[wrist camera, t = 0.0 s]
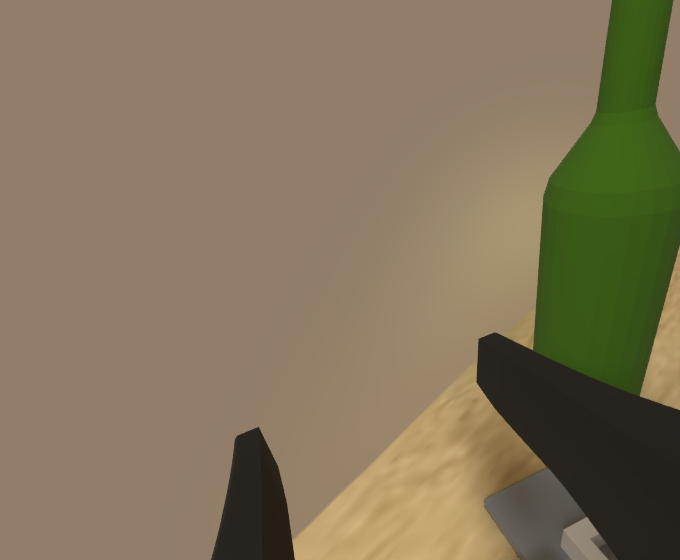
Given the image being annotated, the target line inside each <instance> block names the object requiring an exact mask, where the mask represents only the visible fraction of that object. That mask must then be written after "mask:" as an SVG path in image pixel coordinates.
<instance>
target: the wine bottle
mask: <svg viewBox="0 0 680 560" xmlns="http://www.w3.org/2000/svg"><path fill="white" fill-rule="evenodd" d="M672 5H673V0H612V5H611V12H610V19H609V26H608V33H607V40H606V47H605V55H604V61H603V68H602V76H601V83H600V89H599V96H598V103H597V110H596V113H595V115H594V117H593V119H592V122H591V123H590V125H589V126H588V127H587V129H586V130H585V131H584V133H583V134H582V135H581V137H580V138H579V139H578V141H577V142H576V143H575V145H574V146H573V147H572V148H571V150H570V151H569V152H568V154H567V155H566V157H565V158H564V159H563V160H562V162H561V163H560V165H559V166H558V167H557V168H556V170H555V171H554V172H553V174H552V175H551V176H550V178H549V181H548V184H547V187H546V190H545V193H544V197H543V211H542V212H543V213H542V226H541V242H540V256H539V270H538V285H537V300H536V315H535V330H534V345H533V351H535V352H537V353H539V354H541V355H543V356H545V357H547V358H549V359H552V360H554V361H556V362H558V363H560V364H562V365H565V366H567V367H569V368H571V369H573V370H576V371H578V372H580V373H582V374H585V375H587V376H589V377H592V378H594V379H596V380H599V381H601V382H604V383H606V384H609V385H611V386H613V387H616V388H618V389H621V390H624V391H626V392H629V393H631V394H634V395H637V396H640V392H641V388H642V384H643V381H644V377H645V373H646V369H647V366H648V362H649V358H650V354H651V351H652V347H653V343H654V339H655V336H656V332H657V328H658V324H659V321H660V317H661V313H662V309H663V306H664V302H665V298H666V294H667V291H668V287H669V283H670V279H671V276H672V272H673V268H674V264H675V261H676V257H677V253H678V249H679V246H680V151H679V150H678V148H677V146H676V145H675V143H674V141H673V140H672V138H671V136H670V135H669V133H668V131H667V130H666V128H665V126H664V125H663V123H662V121H661V120H660V118H659V116H658V113H657V109H656V105H655V103H656V97H657V91H658V86H659V80H660V74H661V69H662V63H663V57H664V51H665V45H666V39H667V34H668V28H669V21H670V17H671V11H672Z"/></svg>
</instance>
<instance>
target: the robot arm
mask: <svg viewBox="0 0 680 560" xmlns="http://www.w3.org/2000/svg"><path fill="white" fill-rule="evenodd" d="M477 384H478V385H479V387H480V388H481V389H482V391H483V392H484V394H485V395H486V397H487V398H488V400H489V401H490V402H491V404H492V405H493V406H494V408H495V409H496V410H497V412H498V413H499V414H500V415H501V416H502V417H503V418H504V420H505V421H506V422H507V423H508V424H509V425H510V426H511V427H512V429H513V430H514V431H515V432H516V433H517V434H518V435H519V436H520V437H521V438H522V440H523V441H524V442H525V443H526V444H527V445H528V446H529V447H530V448H531V450H532V451H533V452H534V453H535V454H536V455H537V456H538V457H539V458H540V459H541V461H542V462H543V463H544V464H545V465H546V466H547V467H548V468H549V469H550V471H551V472H552V473H553V474H554V475H555V476H556V478H557V479H558V480H559V481H560V482H561V484H562V485H563V486H564V487H565V489H566V490H567V491H568V493H569V494H570V495H571V497H572V498H573V499H574V501H575V502H576V503H577V505H578V506H579V507H580V508H581V510H582V511H583V512H584V514H585V515H586V516H587V518H588V519H589V521H590V522H591V523H592V525H593V526H594V527H595V529H596V530H597V532H598V533H599V534H600V536H601V537H602V538H603V540H604V541H605V543H606V544H607V545H608V547H609V548H610V549H611V551H612V552H613V554H614V555H615V557H616V558H617V560H680V410H678V409H675V408H671V407H668V406H665V405H662V404H660V403H657V402H654V401H651V400H648V399H645V398H643V397H640V396H637V395H634V394H631V393H629V392H626V391H624V390H621V389H618V388H616V387H613V386H611V385H609V384H606V383H604V382H601V381H599V380H596V379H594V378H592V377H589V376H587V375H585V374H582V373H580V372H578V371H576V370H573V369H571V368H569V367H567V366H565V365H562V364H560V363H558V362H556V361H554V360H552V359H549V358H547V357H545V356H543V355H541V354H539V353H537V352H535V351H533V350H531V349H529V348H527V347H525V346H523V345H520V344H518V343H516V342H514V341H512V340H510V339H508V338H506V337H504V336H502V335H500V334H498V333H492V334H490V335H487V336H485V337H482V338H480V339H479V342H478V363H477ZM211 560H295V558H294V551H293V544H292V537H291V529H290V522H289V515H288V508H287V502H286V498H285V494H284V489H283V485H282V481H281V477H280V472H279V469H278V465H277V463H276V461H275V459H274V457H273V455H272V454H271V451H270V449H269V447H268V445H267V443H266V441H265V439H264V437H263V435H262V433H261V431H260V429H259V427H258V428H255V429H253V430H250V431H248V432H245V433H243V434H240V435H238V436H237V437H236V439H235V443H234V453H233V460H232V468H231V473H230V479H229V485H228V490H227V495H226V500H225V505H224V509H223V514H222V519H221V524H220V528H219V532H218V536H217V540H216V544H215V547H214V551H213V555H212V559H211Z"/></svg>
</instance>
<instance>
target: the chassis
mask: <svg viewBox="0 0 680 560" xmlns="http://www.w3.org/2000/svg"><path fill="white" fill-rule="evenodd" d="M484 507H485V509H486V510H487V511H488V513H489V514H490V516H491V517H492V519H493V520H494V522H495V523H496V524H497V526H498V527H499V529H500V530H501V532H502V533H503V535H504V536H505V537H506V539H507V540H508V542H509V543H510V545H511V546H512V548H513V549H514V550H515V552H516V553H517V555H518V556H519V558H520V559H521V560H617V558H616V557H615V555H614V554H613V552H612V551H611V549H610V548H609V547H608V545H607V544H606V543H605V541H604V540H603V538H602V537H601V536H600V534H599V533H598V532H597V530H596V529H595V527H594V526H593V525H592V523H591V522H590V521H589V519H588V518H587V516H586V515H585V514H584V512H583V511H582V510H581V508H580V507H579V506H578V505H577V503H576V502H575V501H574V499H573V498H572V497H571V495H570V494H569V493H568V491H567V490H566V489H565V487H564V486H563V485H562V484H561V482H560V481H559V480H558V479H557V478H556V476H555V475H554V474H553V473H552V472H551V471H550V469H549V468H546V469H544V470H542V471H540V472H538V473H536V474H534V475H532V476H530V477H528V478H526V479H524V480H522V481H520V482H518V483H516V484H514V485H512V486H510V487H508V488H506V489H504V490H502V491H500V492H498V493H496V494H494V495H492V496H490V497H488V498H486V499H484Z"/></svg>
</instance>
